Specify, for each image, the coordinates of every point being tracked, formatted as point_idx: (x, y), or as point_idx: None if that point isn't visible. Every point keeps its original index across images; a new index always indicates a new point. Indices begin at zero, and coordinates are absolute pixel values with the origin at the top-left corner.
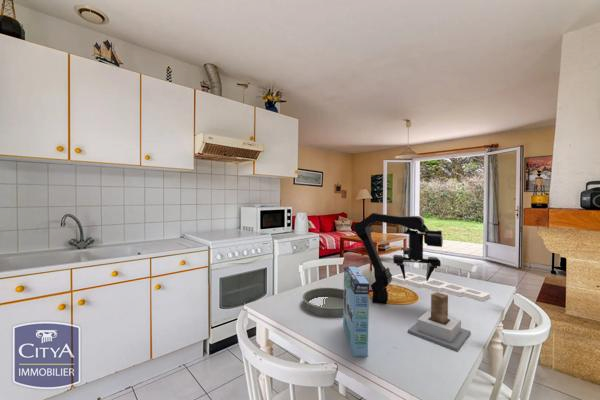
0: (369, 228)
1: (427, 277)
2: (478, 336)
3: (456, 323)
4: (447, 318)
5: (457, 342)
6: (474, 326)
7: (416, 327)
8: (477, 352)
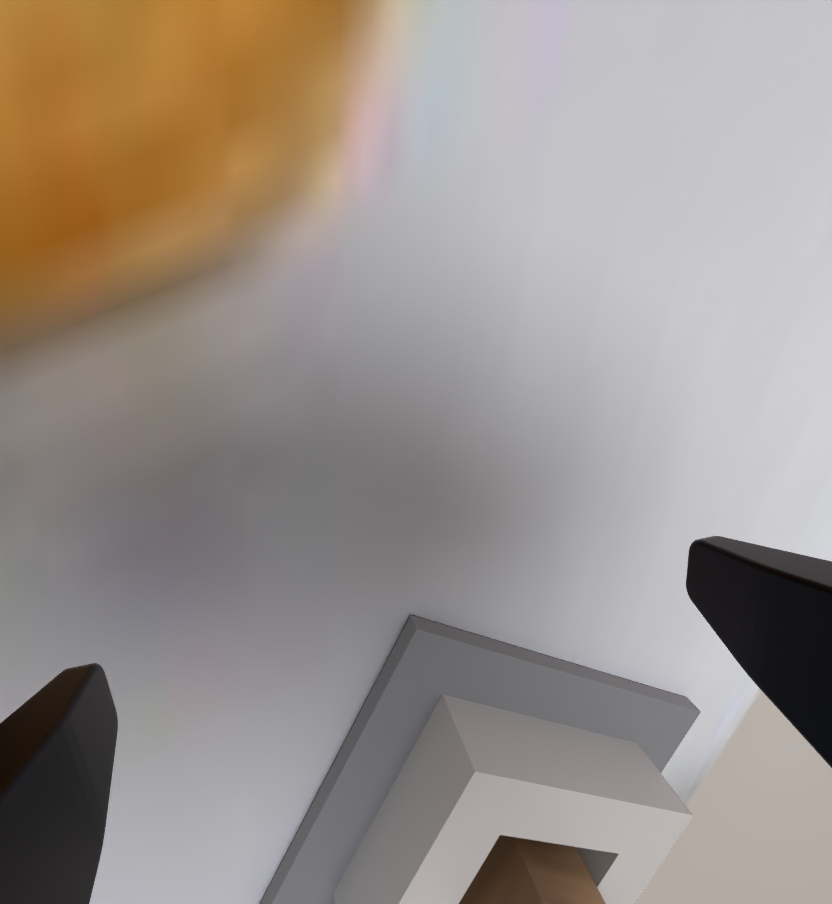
0: None
1: (772, 696)
2: (719, 705)
3: (638, 890)
4: (596, 896)
5: None
6: None
7: (327, 859)
8: None
